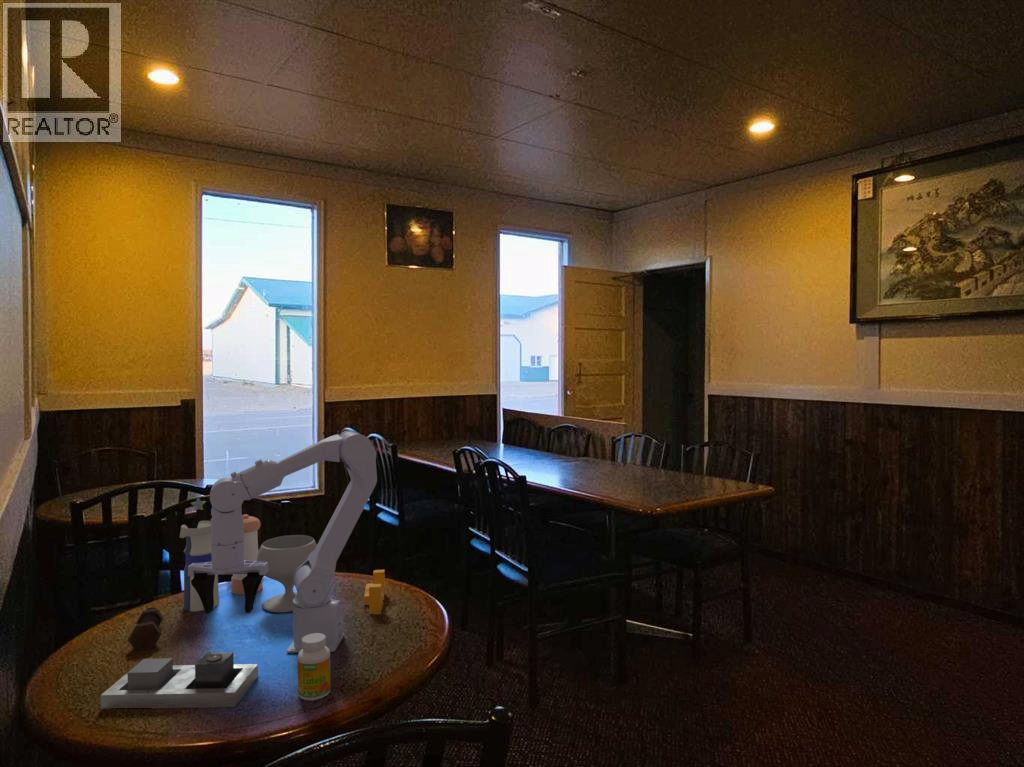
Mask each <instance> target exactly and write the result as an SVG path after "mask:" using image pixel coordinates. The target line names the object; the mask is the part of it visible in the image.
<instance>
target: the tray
mask: <svg viewBox="0 0 1024 767" xmlns="http://www.w3.org/2000/svg"><path fill="white" fill-rule="evenodd" d="M258 677H259V665H258V663H240V664H239V663H236V664H235V663H234V680H233V681H232V682H231V683H230V685H229V686H228V687H227V688H216V689H195V664H180V665H179V664H178V665H177V664H175V665H174V664H173V678H172V679H171V680H170V681H169V682H168V683H167V684H166V685H165V686H164V687H162V688H161V689H159V690H128V675H127V673H125V674H124V675H123V676H122V677H120V679H119V678H118V680H117V681H115V683H113V684H112V685H111V686H109V688H107V689H106V690H105V691H104V692H103V693H101V694H100V710H103V709H102V708H105V709H104V710H108V709H107V708H152V709H188V708H189V709H197V708H198V709H199V708H200V709H201V708H202V709H203V708H236V707H237V705H238V704H239V702H240V701H241V700H242V699H243V698H244V696H245V694H246V693H247V692H248V691H249V689H250V688H251V687H252V685H254V683H255V682H256V681H257V679H258Z"/></svg>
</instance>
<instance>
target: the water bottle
mask: <svg viewBox="0 0 1024 767" xmlns="http://www.w3.org/2000/svg"><path fill="white" fill-rule="evenodd" d="M206 502H207V500H206V501H205V500H202V501H201V499H200V498H199V497H197V498H196V501H193V502H190V504H191V505H192V506H193V512H195V511H196V510H201V511H203V510H204V508H203V505H205V503H206ZM179 538H180V539H185V540H186V541H185V542H186V545H185V549H184V550H183V553H184V554H185V566H184V569H183V606H182V607H183V611H187V612H201V611H204V607H203V604H202V601H201V599H200V597H199V595H198V593H197V591H196V590H195V588H194V587H193V586H192V585H191V580H192V579H194V576H188V566H189V565H191V564H192V563H203V562H212V550H211V520H200V521H199V522H198V524H197V527H196V528H195V527H194V528H189V527H188V526H187V525H186V524H182V525H181V526H180V532H179ZM218 577H219V575H215V580H214V590H213V595H214V608H216V607H217V606H219V604H220V602H221V601H220V594H219V593H220V592H219V578H218Z"/></svg>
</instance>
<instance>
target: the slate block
mask: <svg viewBox="0 0 1024 767" xmlns="http://www.w3.org/2000/svg"><path fill="white" fill-rule="evenodd" d="M173 660H174V658H173V657H171V658H169V657H168V658H165V657H163V658H143V659H142V660H141V661H140V662H139V663H137V664H136V665H134V667H132V668H131V669H130V670H129V671H128V672H127V673H126V674H127V675H128V690H159V689H161V688H162V687H164V686H165V685H166V684H167V683H168V682H169V681H170V680H171V679H172V678H173V665H174V661H173Z"/></svg>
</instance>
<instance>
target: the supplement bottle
mask: <svg viewBox="0 0 1024 767" xmlns="http://www.w3.org/2000/svg"><path fill="white" fill-rule="evenodd" d="M325 645H326V636H325V635H324V634H321V633H313V634H308V635H306V636H304V637H303V638H302V650H301V651H300V652H299V653H298V654H297V695H298V697H299V698H300V699H302V700H303V701H316V700H317V701H319V700H320V699H323V698H325V697H327V696H328V695H329V694H330V692H331V690H332V688H331V686H332V685H331V684H332V683H331V678H332V677H331V652H330V650H329V648H328V647H326V646H325Z"/></svg>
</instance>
